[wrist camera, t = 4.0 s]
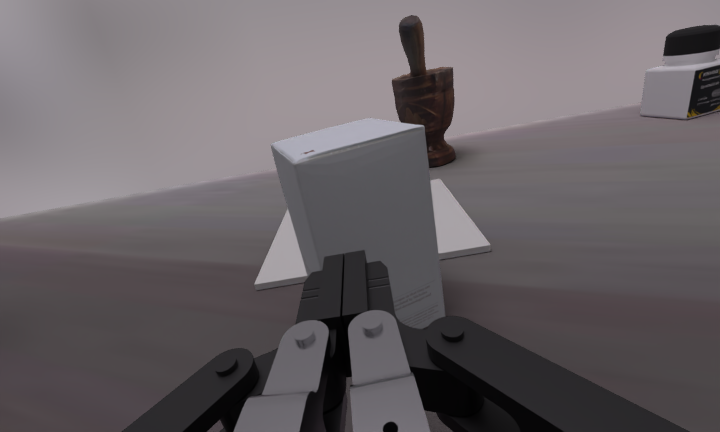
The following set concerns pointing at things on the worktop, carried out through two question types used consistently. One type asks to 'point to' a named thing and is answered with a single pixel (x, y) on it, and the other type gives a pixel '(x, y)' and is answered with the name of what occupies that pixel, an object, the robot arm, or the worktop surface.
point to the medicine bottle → (685, 76)
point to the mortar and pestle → (425, 94)
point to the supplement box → (367, 206)
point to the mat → (451, 231)
